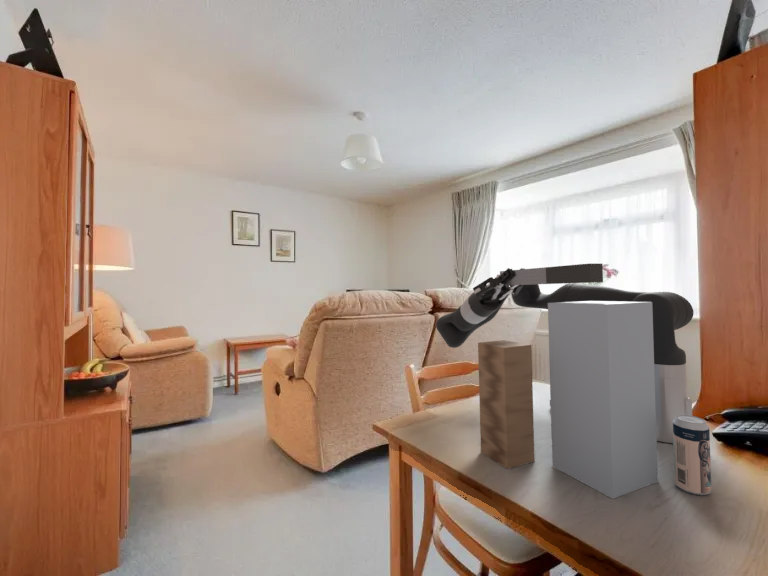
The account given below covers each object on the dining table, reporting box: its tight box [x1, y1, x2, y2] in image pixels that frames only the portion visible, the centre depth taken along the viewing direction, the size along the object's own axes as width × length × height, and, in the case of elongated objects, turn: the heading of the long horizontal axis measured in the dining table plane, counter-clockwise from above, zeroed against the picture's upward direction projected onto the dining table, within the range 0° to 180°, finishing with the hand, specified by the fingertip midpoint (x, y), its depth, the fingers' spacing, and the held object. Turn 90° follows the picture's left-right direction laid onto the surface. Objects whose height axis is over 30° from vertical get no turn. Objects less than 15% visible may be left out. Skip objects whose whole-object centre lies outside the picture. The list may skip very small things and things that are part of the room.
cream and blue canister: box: [672, 415, 712, 496], centre depth 61 cm, size 5×5×12 cm
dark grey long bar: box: [496, 263, 604, 285], centre depth 78 cm, size 26×4×4 cm, turn 23°
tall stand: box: [547, 301, 659, 500], centre depth 66 cm, size 12×12×32 cm
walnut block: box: [477, 339, 536, 470], centre depth 74 cm, size 8×7×24 cm
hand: (518, 271), depth 84 cm, fingers closed on dark grey long bar, 3 cm apart
